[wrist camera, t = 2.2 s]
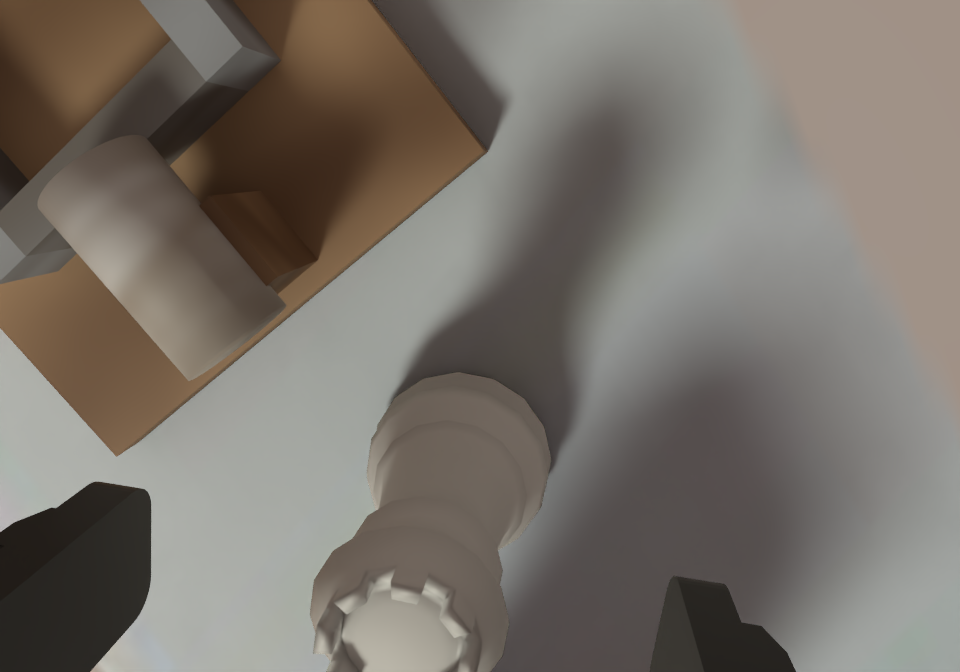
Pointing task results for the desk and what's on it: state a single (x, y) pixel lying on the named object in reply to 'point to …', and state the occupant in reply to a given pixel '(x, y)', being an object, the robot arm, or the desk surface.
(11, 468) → the desk surface
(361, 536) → the rook chess piece
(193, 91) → the frame on base plate
